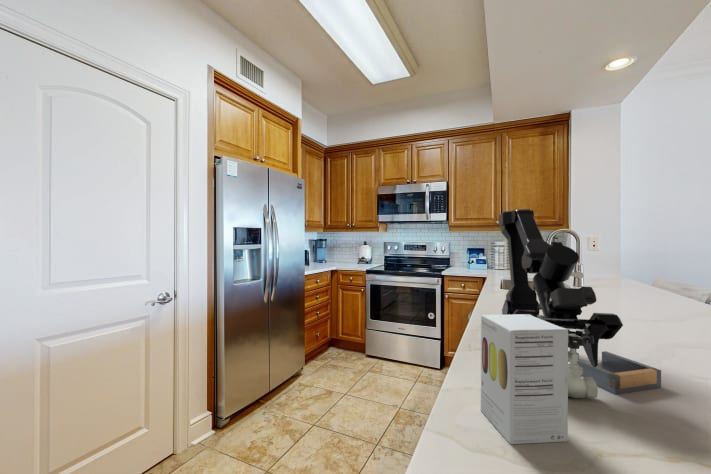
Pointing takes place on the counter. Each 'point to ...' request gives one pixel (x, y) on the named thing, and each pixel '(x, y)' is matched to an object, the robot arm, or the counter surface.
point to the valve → (579, 368)
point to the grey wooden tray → (621, 374)
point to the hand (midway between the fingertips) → (576, 364)
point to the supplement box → (525, 378)
